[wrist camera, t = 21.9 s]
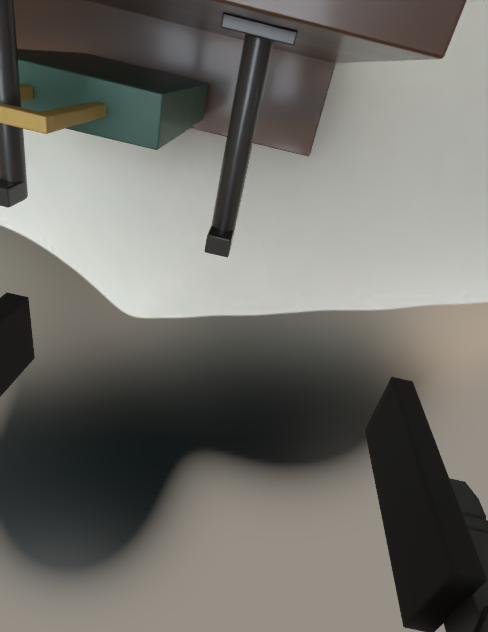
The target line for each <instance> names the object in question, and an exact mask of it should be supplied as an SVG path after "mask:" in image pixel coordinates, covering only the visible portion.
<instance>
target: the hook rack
mask: <svg viewBox="0 0 488 632" xmlns="http://www.w3.org/2000/svg"><path fill="white" fill-rule="evenodd" d="M465 3H466V0H0V103H4V104H8V105H12V106H17V107H21V94H20V80H19V66H18V52H17V49H28V50H44V51H60V52H77V53H88V54H92V55H96V56H100V57H104V58H108V59H113V60H117V61H121V62H125V63H129V64H133V65H137V66H141V67H145V68H149V69H154V70H158V71H162V72H166V73H170V74H174V75H178V76H182V77H186V78H190V79H195V80H199V81H203V82H207V83H208V91H207V98H206V105H205V112H204V119H203V120H201V121H200V122H198V123H197V124H195V125H194V126H192V127H191V128H193V129H197V130H201V131H206V132H210V133H214V134H218V135H222V136H226V137H227V141H226V146H225V152H224V158H223V163H222V169H221V175H220V181H219V186H218V192H217V198H216V203H215V209H214V215H213V220H212V226H211V228H210V230H209V233H208V235H207V240H206V246H205V252H206V253H211V254H215V255H220V256H224V257H228V256H229V252H230V249H231V245H232V240H233V235H234V230H235V226H236V221H237V216H238V211H239V206H240V202H241V197H242V192H243V187H244V182H245V177H246V173H247V168H248V163H249V158H250V153H251V149H252V144H253V143H256V144H260V145H264V146H268V147H272V148H276V149H280V150H285V151H289V152H293V153H297V154H301V155H305V156H309V155H310V152H311V148H312V144H313V141H314V137H315V134H316V130H317V127H318V123H319V120H320V116H321V112H322V109H323V105H324V102H325V98H326V95H327V91H328V88H329V84H330V80H331V77H332V73H333V70H334V66H335V63H345V62H372V61H399V60H426V59H442V58H443V57H444V56H445V53H446V51H447V48H448V46H449V43H450V41H451V38H452V36H453V33H454V31H455V28H456V26H457V23H458V21H459V18H460V16H461V13H462V11H463V8H464V6H465ZM27 196H28V193H27V178H26V164H25V150H24V136H23V128H19V127H15V126H11V125H6V124H2V123H0V206H4V207H11V206H13V205H15V204H17V203H19V202H21V201H22V200H24V199H26V198H27Z"/></svg>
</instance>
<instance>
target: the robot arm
mask: <svg viewBox="0 0 488 632" xmlns="http://www.w3.org/2000/svg"><path fill="white" fill-rule="evenodd" d="M33 359H34V348H33V338H32V329H31V319H30V309H29V300H28V297H24V296H19V295H15V294H11V293H6V294H4V295H3V296H2V297H1V298H0V396H1V395H2V394H3V393H4V392H5V391H6V390H7V389H8V387H9V386H10V385H11V384H12V383H13V382H14V381H15V380H16V378H17V377H18V376H19V375H20V374H21V373H22V372H23V370H24V369H25V368H26V367H27V366H28V365H29V364H30V363H31V362H32V360H33ZM365 433H366V438H367V443H368V448H369V453H370V458H371V464H372V469H373V474H374V479H375V484H376V489H377V494H378V499H379V505H380V510H381V515H382V520H383V525H384V530H385V535H386V539H387V545H388V550H389V555H390V560H391V566H392V571H393V576H394V581H395V585H396V591H397V596H398V601H399V606H400V612H401V617H402V622H403V626H404V627H405V628H410V629H415V630H419V631H424V632H435V631H436V630H437V629H438V628H439V627H440V626H441V625H442V624H443V623H444V626H445V630H446V632H488V521H487V520H486V515H485V513H484V511H483V508H482V506H481V504H480V501H479V499H478V498H477V496H476V495H475V494H474V493H473V491H472V490H471V489H470V488H469V486H468V485H467V484H466V482H463V481H459V480H454V479H450V478H449V477H448V474H447V472H446V469H445V466H444V464H443V461H442V459H441V456H440V453H439V450H438V448H437V445H436V443H435V440H434V437H433V434H432V432H431V429H430V427H429V424H428V421H427V419H426V416H425V413H424V411H423V408H422V405H421V403H420V400H419V397H418V395H417V392H416V389H415V387H414V384H413V382H412V381H407V380H403V379H399V378H394V377H391V379H390V381H389V383H388V385H387V387H386V389H385V391H384V393H383V395H382V397H381V399H380V401H379V403H378V405H377V407H376V409H375V411H374V413H373V415H372V417H371V419H370V421H369V423H368V425H367V427H366V429H365Z"/></svg>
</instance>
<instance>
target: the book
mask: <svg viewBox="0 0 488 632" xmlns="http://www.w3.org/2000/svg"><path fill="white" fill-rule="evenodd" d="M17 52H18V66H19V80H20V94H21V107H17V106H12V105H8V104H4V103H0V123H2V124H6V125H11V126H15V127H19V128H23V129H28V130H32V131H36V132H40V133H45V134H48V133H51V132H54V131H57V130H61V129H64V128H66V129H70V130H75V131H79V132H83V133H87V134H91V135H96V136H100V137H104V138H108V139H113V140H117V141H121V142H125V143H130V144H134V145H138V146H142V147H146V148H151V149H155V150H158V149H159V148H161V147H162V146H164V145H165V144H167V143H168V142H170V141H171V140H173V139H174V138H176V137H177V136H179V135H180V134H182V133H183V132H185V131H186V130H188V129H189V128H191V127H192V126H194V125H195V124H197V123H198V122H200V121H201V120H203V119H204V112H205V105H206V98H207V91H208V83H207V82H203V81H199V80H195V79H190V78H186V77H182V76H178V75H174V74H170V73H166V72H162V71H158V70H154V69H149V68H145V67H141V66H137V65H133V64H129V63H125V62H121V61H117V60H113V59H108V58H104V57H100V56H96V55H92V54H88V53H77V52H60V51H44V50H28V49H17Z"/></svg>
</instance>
